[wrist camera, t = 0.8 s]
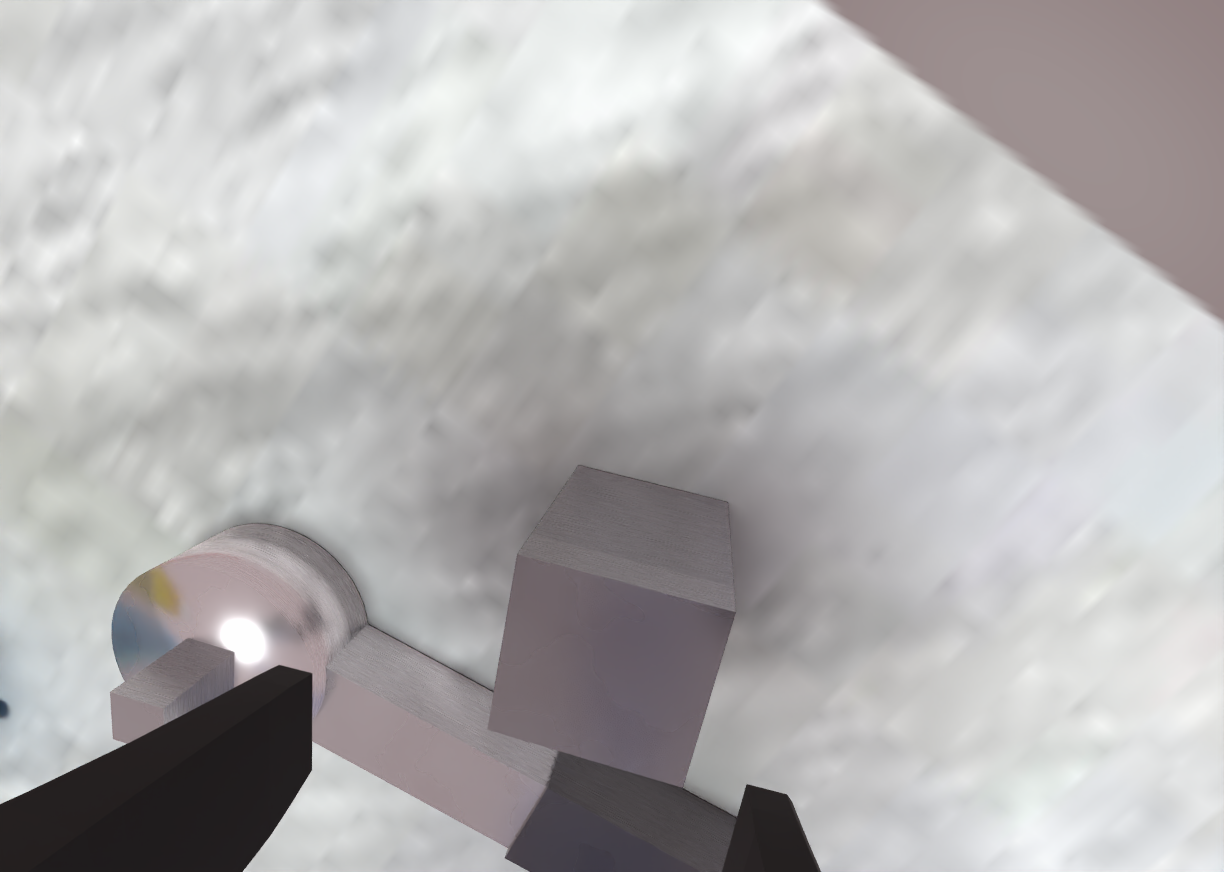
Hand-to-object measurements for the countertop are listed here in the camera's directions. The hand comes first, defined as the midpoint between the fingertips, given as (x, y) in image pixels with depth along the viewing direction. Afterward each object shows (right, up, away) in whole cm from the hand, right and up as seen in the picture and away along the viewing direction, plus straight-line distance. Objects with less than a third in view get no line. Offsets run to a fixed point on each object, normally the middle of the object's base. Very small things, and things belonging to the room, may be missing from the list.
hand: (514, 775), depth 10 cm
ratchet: (-3, -4, +12) cm, 13 cm away
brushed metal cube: (+2, +2, +9) cm, 9 cm away
